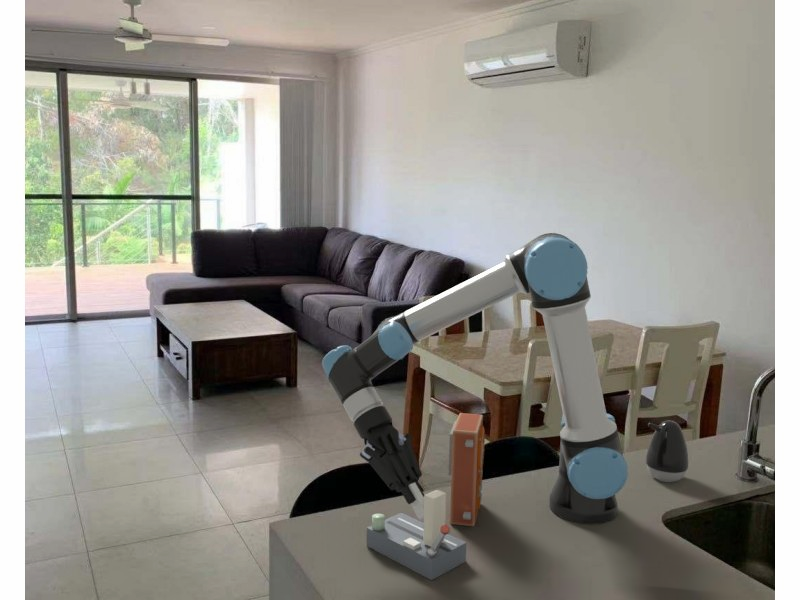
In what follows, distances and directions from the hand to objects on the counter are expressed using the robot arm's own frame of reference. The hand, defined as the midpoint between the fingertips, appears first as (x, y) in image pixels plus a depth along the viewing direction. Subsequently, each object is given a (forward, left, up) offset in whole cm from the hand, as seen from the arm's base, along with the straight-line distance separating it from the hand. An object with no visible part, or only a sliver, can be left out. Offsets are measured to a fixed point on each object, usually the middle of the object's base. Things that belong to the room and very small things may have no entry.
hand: (425, 515), depth 146 cm
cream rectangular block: (-2, +2, -5) cm, 5 cm away
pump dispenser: (-59, -47, -9) cm, 76 cm away
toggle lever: (-1, +6, -5) cm, 8 cm away
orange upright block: (-8, -21, -9) cm, 24 cm away
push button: (+10, -3, -5) cm, 11 cm away
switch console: (+2, -2, -9) cm, 9 cm away
